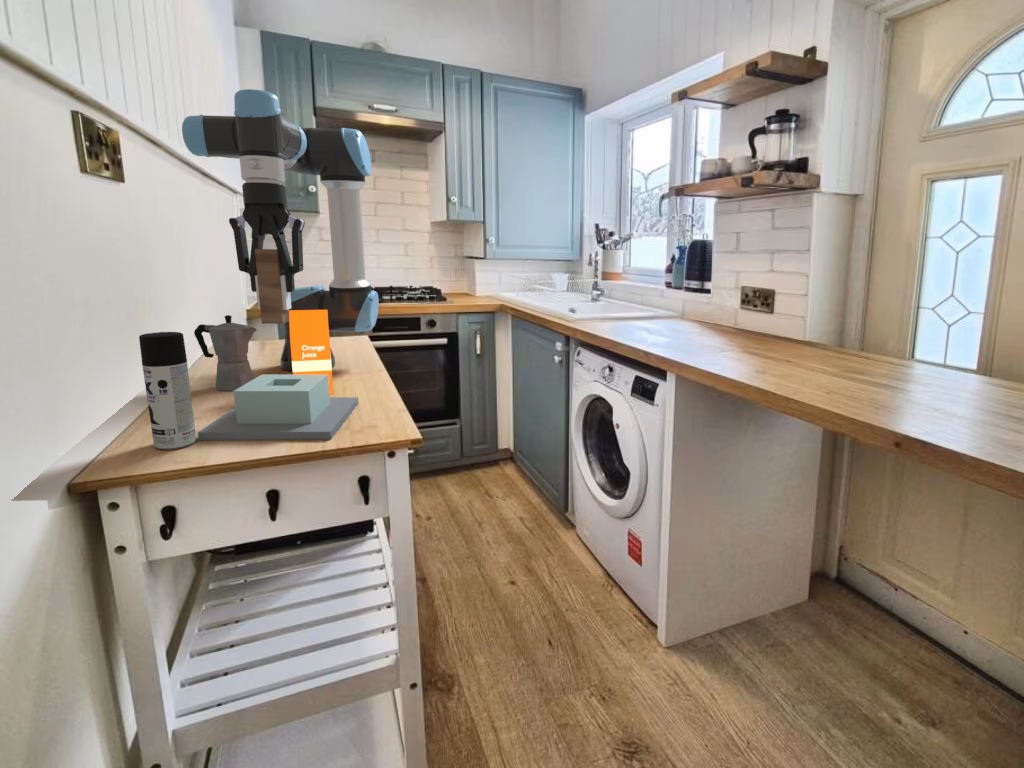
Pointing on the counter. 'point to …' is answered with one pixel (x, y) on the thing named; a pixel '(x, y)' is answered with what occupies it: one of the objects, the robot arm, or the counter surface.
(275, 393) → the socket block
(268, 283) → the peg
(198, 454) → the counter surface
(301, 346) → the orange juice
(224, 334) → the coffeepot
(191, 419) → the spray can
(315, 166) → the robot arm
